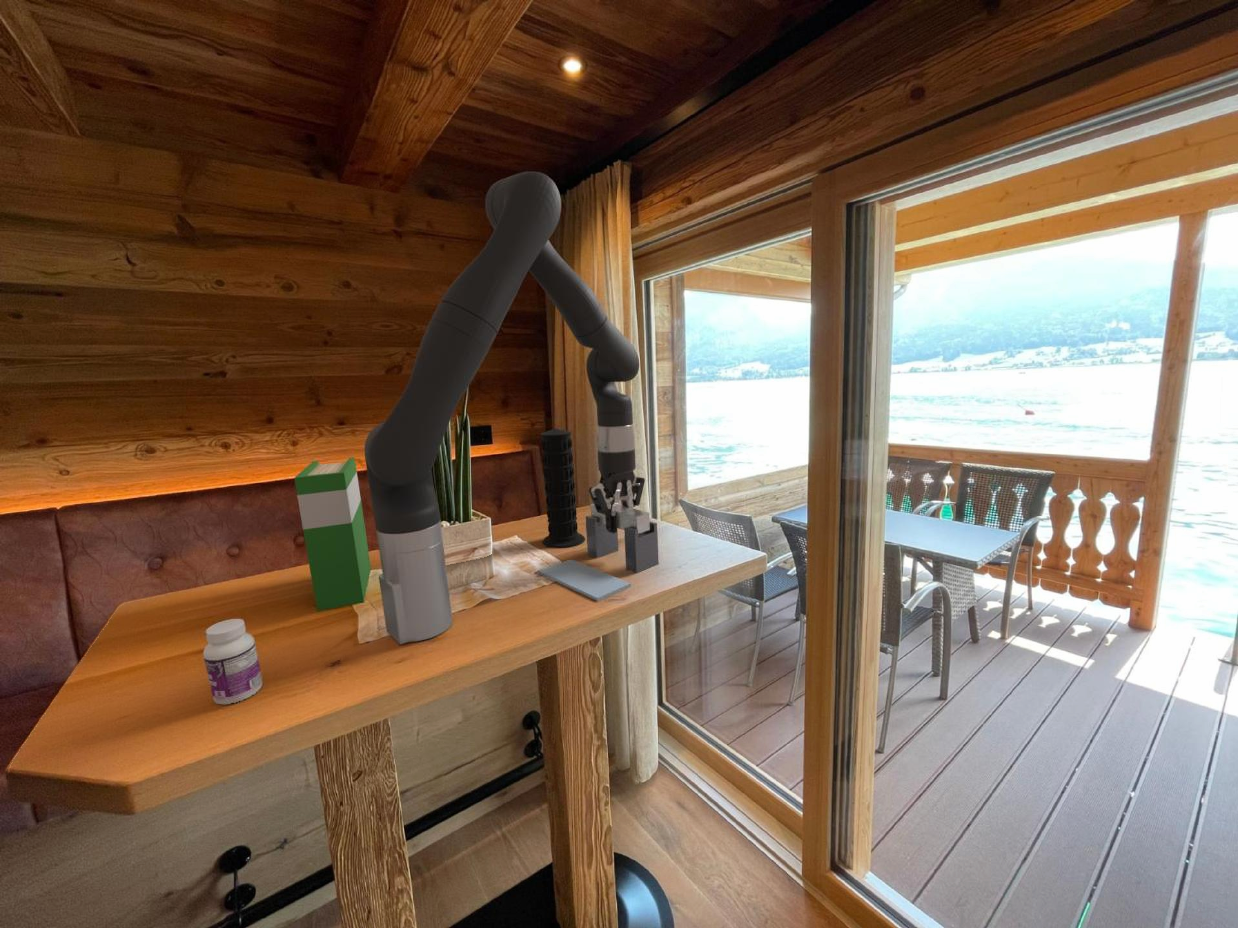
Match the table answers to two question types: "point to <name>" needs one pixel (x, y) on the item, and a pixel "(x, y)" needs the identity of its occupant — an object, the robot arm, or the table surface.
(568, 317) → the robot arm
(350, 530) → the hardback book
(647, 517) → the rail
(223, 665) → the pill bottle
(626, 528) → the post right
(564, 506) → the handle grip
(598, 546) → the post left
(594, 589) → the mat
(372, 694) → the table surface
